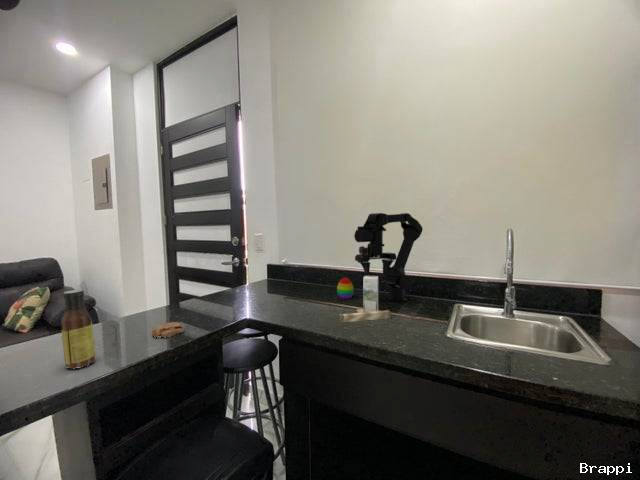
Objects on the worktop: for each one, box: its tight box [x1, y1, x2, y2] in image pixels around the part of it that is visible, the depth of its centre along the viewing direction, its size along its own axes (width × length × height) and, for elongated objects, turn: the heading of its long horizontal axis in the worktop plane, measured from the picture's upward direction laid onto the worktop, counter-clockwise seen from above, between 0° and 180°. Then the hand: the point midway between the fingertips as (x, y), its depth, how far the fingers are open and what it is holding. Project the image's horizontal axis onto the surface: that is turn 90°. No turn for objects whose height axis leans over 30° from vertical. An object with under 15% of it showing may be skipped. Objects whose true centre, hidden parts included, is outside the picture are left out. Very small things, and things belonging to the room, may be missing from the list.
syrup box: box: [362, 275, 379, 312], centre depth 117 cm, size 6×6×14 cm
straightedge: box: [338, 309, 391, 324], centre depth 110 cm, size 20×2×3 cm, turn 104°
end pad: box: [356, 308, 381, 313], centre depth 117 cm, size 9×9×1 cm
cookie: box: [151, 321, 185, 338], centre depth 98 cm, size 10×11×3 cm
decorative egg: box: [336, 277, 355, 300], centre depth 142 cm, size 8×8×10 cm
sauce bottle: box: [60, 289, 96, 368], centre depth 75 cm, size 7×6×20 cm
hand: (375, 276), depth 128 cm, fingers open, 9 cm apart
